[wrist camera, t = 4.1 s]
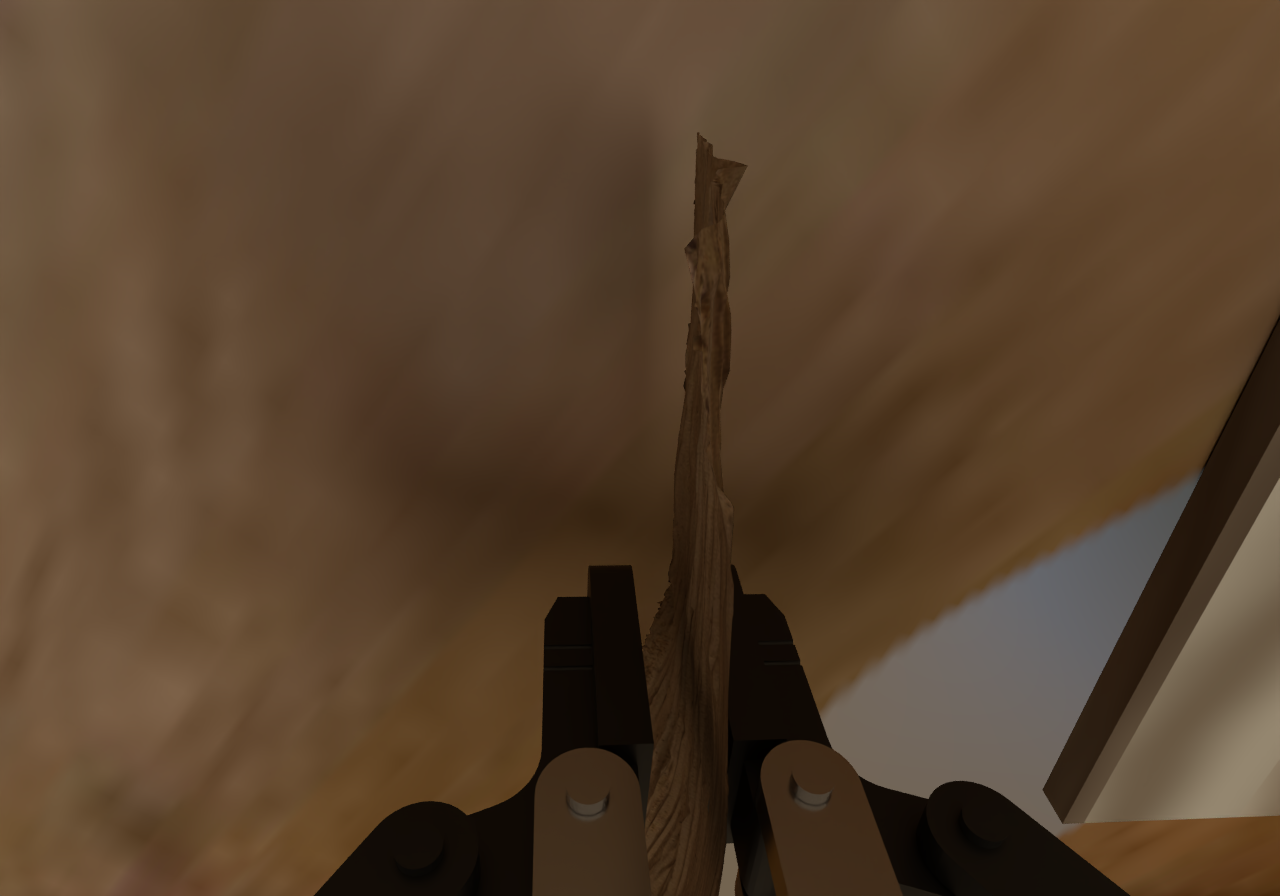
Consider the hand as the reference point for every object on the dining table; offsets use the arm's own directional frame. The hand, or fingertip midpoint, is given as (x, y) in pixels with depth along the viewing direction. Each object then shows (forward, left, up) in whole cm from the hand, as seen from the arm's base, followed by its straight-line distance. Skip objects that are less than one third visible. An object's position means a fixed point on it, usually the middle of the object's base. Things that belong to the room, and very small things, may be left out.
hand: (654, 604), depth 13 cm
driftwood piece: (0, 0, -1) cm, 1 cm away
